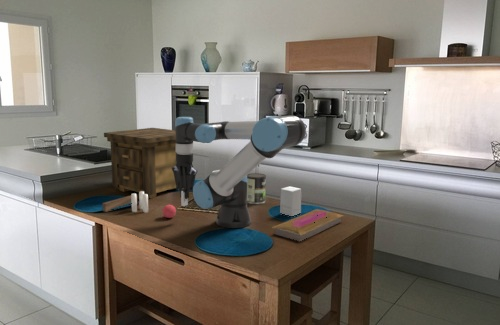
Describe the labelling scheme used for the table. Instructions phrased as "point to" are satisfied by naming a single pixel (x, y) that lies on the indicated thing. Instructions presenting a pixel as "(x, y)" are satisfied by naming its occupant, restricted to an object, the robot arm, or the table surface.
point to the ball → (169, 211)
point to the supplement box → (290, 201)
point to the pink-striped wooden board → (305, 220)
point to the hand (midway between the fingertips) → (184, 205)
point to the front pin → (145, 203)
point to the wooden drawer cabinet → (143, 160)
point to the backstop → (116, 203)
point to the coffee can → (256, 188)
